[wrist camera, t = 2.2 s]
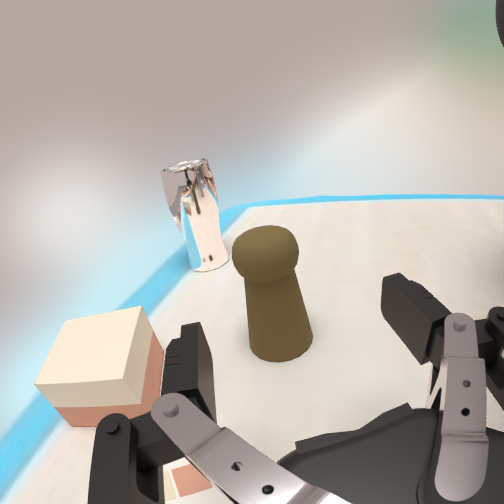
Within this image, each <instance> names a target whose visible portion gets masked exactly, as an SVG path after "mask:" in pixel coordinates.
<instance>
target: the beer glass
mask: <svg viewBox="0 0 504 504" xmlns="http://www.w3.org/2000/svg"><path fill="white" fill-rule="evenodd" d="M161 174H162V179H163V185H164V190H165V194H166V199H167V202H168V205H169V208H170V211H171V213H172V216H173V218H174V220H175V222H176V224H177V226H178V228H179V230H180V232H181V234H182V236H183V238H184V240H185V243H186V246H187V250H188V257H189V265H190V268H191V269H192V270H194V271H198V272H205V271H210V270H214V269H216V268H219V267H221V266H222V265H224V264H225V263H226V262H227V261H228V259H229V255H228V252H227V250H226V248H225V246H224V243H223V241H222V237H221V233H220V225H219V210H218V199H217V193H216V187H215V183H214V180H213V176H212V173H211V170H210V167H209V164H208V160H207V158H200V159H195V160H189V161H185V162H182V163H178V164H175V165H172V166H169V167H167V168H165V169H163V170H161Z"/></svg>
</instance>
